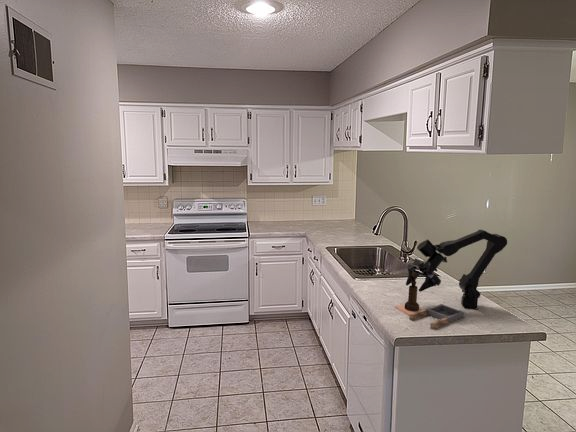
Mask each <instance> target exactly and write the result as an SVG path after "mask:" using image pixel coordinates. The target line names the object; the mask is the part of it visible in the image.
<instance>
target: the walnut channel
mask: <svg viewBox="0 0 576 432" xmlns="http://www.w3.org/2000/svg"><path fill="white" fill-rule="evenodd" d="M423 309H424V310H421V311H418V312H415V313H412V314H410V316H409V315H408V316H409V318H408V319H409V321H414V320H417V319H421V318H423V317H425V316H428V315H427V310H426V309H427V308H426V309H425V308H423ZM447 323H448V318H443V319H440V320H439V319H437V320H435V321H432V322H430V327H429V329H431V330H435V329H437V327H438V328H440V327H443V326H446V325H448V324H449V323H448V324H447ZM445 324H446V325H445ZM442 325H443V326H442Z"/></svg>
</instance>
